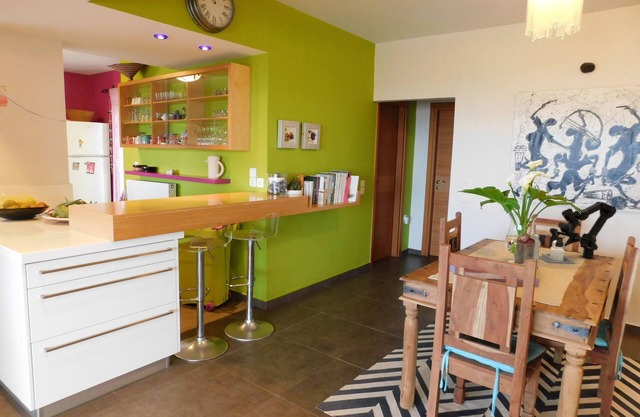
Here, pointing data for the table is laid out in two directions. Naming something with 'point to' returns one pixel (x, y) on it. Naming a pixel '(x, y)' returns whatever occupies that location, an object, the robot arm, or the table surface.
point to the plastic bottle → (536, 246)
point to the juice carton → (524, 248)
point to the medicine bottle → (557, 251)
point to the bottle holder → (549, 260)
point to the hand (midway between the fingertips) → (557, 244)
